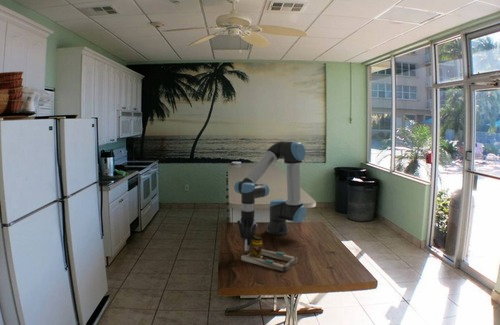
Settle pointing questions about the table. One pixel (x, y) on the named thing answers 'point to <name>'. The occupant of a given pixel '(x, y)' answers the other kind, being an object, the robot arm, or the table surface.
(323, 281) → the table surface
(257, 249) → the condiment
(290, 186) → the robot arm
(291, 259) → the rail track
